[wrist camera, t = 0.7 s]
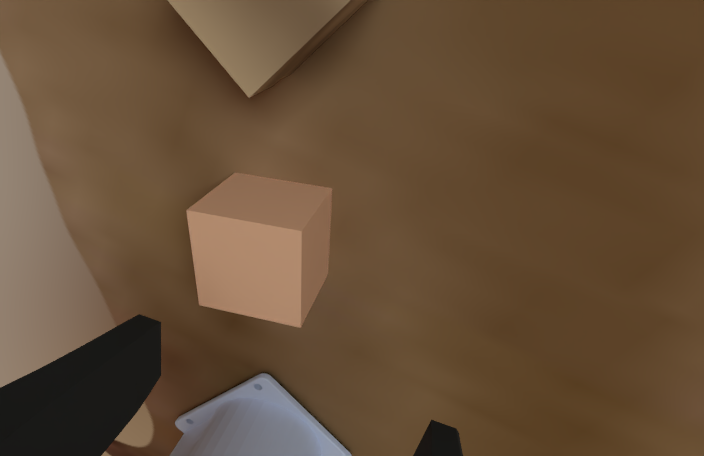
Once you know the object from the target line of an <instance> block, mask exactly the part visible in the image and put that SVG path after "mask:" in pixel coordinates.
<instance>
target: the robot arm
mask: <svg viewBox="0 0 704 456" xmlns="http://www.w3.org/2000/svg"><path fill="white" fill-rule="evenodd" d="M160 376H161V322H159V321H156V320H154V319H151V318H148V317H145V316H142V315H140V314H139V315H137V316H135V317H133V318H132V319H130V320H128V321H126V322H124V323H122V324H121V325H119V326H117V327H115V328H114V329H112V330H110V331H108V332H106V333H105V334H103V335H101V336H99V337H97V338H96V339H94V340H92V341H90V342H88V343H87V344H85V345H83V346H81V347H80V348H78V349H76V350H74V351H72V352H70V353H68V354H66V355H64V356H63V357H61V358H59V359H57V360H55V361H53V362H51V363H50V364H48V365H46V366H44V367H42V368H40V369H38V370H36V371H34V372H32V373H30V374H28V375H26V376H24V377H22V378H19V379H17V380H15V381H13V382H11V383H9V384H7V385H5V386H3V387H1V388H0V456H101V455H102V454H103V453H104V452H105V450H106V449H107V448H108V447H109V446H110V444H111V443H112V442H113V441H114V439H115V438H116V437H117V436H118V435H119V433H120V432H121V431H122V430H123V428H124V427H125V426H126V425H127V424H128V422H129V421H130V420H131V419H132V417H133V416H134V415H135V414H136V412H137V411H138V409H139V408H140V407H141V405H142V404H143V402H144V401H145V399H146V398H147V396H148V395H149V393H150V392H151V390H152V389H153V387H154V385H155V384H156V382H157V381H158V379H159V378H160ZM175 425H176V427H177V428H178V429H180V430H181V431H182V432H183V433H184V434H183V436H182V437H181V439H180V440H179V442H178V443H177V445H176V446H175V448H174V450H173V451H172V453H171V454H170V456H352V455H351V453H350V452H349V451H348V450H347V449H346V448H345V447H344V446H343V445H342V444H341V443H339V442H338V441H337V440H336V439H335V438H334V437H333V436H332V435H331V434H330V433H329V432H328V431H327V430H326V429H325V428H324V427H323V426H322V425H321V424H320V423H319V422H318V421H317V420H316V419H315V418H314V417H313V416H312V415H311V414H310V413H309V412H308V411H307V410H305V409H304V408H303V407H302V406H301V405H300V404H299V403H298V402H297V401H296V400H295V399H294V398H293V397H292V396H291V395H290V394H289V393H288V392H287V391H286V390H285V389H284V388H283V387H282V386H281V385H280V384H279V383H278V382H277V381H276V380H275V379H274V378H273V377H271V376H270V375H269V374H266V373H261V374H259V375H257V376H255V377H253V378H251V379H249V380H247V381H246V382H244V383H242V384H240V385H238V386H236V387H234V388H232V389H230V390H229V391H227V392H225V393H223V394H221V395H219V396H217V397H215V398H213V399H211V400H210V401H208V402H206V403H204V404H202V405H200V406H198V407H196V408H194V409H193V410H191V411H189V412H187V413H185V414H183V415H181V416H179V417H178V418H177V420H176V421H175ZM413 456H463V454H462V449H461V443H460V438H459V433H458V431H457V429H456V428H453V427H450V426H447V425H445V424H442V423H439V422H436V421H434V420H431V422H430V424H429V426H428V428H427V430H426V432H425V434H424V436H423V438H422V440H421V441H420V443H419V445H418V447H417V449H416V451H415V453H414V455H413Z"/></svg>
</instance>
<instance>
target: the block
mask: <svg viewBox="0 0 704 456" xmlns="http://www.w3.org/2000/svg"><path fill="white" fill-rule="evenodd" d="M331 202H332V188H327V187H321V186H315V185H309V184H303V183H297V182H290V181H284V180H278V179H272V178H266V177H260V176H254V175H248V174H241V173H234V174H232V175H231V176H230V177H229V178H227V179H226V180H225V181H223V182H222V183H221V184H220V185H218V186H217V187H216V188H214V189H213V190H212V191H211V192H209V193H208V194H207V195H205V196H204V197H203V198H201V199H200V200H199V201H198V202H196V203H195V204H194V205H192V206H191V207H190V208H189V209H187V218H188V225H189V233H190V240H191V248H192V255H193V263H194V270H195V277H196V285H197V292H198V300H199V305H201V306H205V307H210V308H214V309H219V310H223V311H228V312H232V313H237V314H241V315H246V316H250V317H255V318H259V319H264V320H268V321H273V322H277V323H282V324H286V325H290V326H295V327H299V328H301V326H302V324H303V322H304V320H305V318H306V316H307V315H308V313H309V311H310V309H311V307H312V305H313V303H314V301H315V299H316V297H317V295H318V293H319V291H320V289H321V287H322V285H323V283H324V281H325V279H326V277H327V275H328V265H329V244H330V223H331Z"/></svg>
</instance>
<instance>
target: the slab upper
mask: <svg viewBox="0 0 704 456" xmlns="http://www.w3.org/2000/svg"><path fill="white" fill-rule="evenodd" d="M362 1H364V0H168V2H169V3H170V4H171V5H172V6H173V8H174V9H175V10H176V11H177V12H178V13H179V15H180V16H181V17H182V18H183V19H184V21H185V22H186V23H187V24H188V25H189V27H190V28H191V29H192V30H193V31H194V33H195V34H196V35H197V36H198V37H199V39H200V40H201V41H202V42H203V43H204V45H205V46H206V47H207V48H208V49H209V51H210V52H211V53H212V54H213V55H214V57H215V58H216V59H217V60H218V61H219V63H220V64H221V65H222V66H223V67H224V69H225V70H226V71H227V72H228V73H229V75H230V76H231V77H232V78H233V79H234V81H235V82H236V83H237V84H238V85H239V87H240V88H241V89H242V90H243V91H244V93H245V94H246V95H247V96H248V97H249V98H250V97H252V96H254V95H256V94H258V93H260V92H262V91H264V90H266V89H268V88H270V87H272V86H274V85H275V84H276V83H277V82H278V81H279V80H280V79H281V78H282V77H283V76H284V75H285V74H286V73H287V72H288V71H289V70H291V69H292V68H293V67H294V66H295V65H296V64H297V63H298V62H299V61H300V60H301V59H302V58H303V57H304V56H305V55H306V54H307V53H309V52H310V51H311V50H312V49H313V48H314V47H315V46H316V45H317V44H318V43H319V42H320V41H321V40H322V39H323V38H324V37H325V36H327V35H328V34H329V33H330V32H331V31H332V30H333V29H334V28H335V27H336V26H337V25H338V24H339V23H340V22H341V21H342V20H343V19H345V18H346V17H347V16H348V15H349V14H350V13H351V12H352V11H353V10H354V9H355V8H356V7H357V6H358V5H359V4H360V3H361V2H362Z"/></svg>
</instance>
